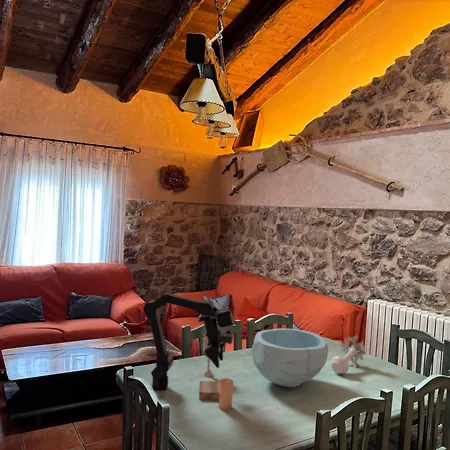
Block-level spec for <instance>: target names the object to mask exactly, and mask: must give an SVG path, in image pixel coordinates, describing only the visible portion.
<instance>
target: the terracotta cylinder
mask: <svg viewBox="0 0 450 450" xmlns="http://www.w3.org/2000/svg"><path fill="white" fill-rule="evenodd" d="M219 382H220V391H219V400H218V409H219V410H222V411H225V412H226V411H231V410H232V409H233V395H234V380H233V379H230V378H221V379H220V380H219Z"/></svg>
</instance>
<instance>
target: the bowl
mask: <svg viewBox="0 0 450 450" xmlns="http://www.w3.org/2000/svg"><path fill="white" fill-rule="evenodd" d="M251 347H252V348H251V356H252V361H253V363H254V365H255V367H256V369H257V370H258V372H259V373H260V375H262V376H263V377H264V378H265V379H266V380H267V381H269V382H271V383H273V384H276V385H279V386H281V387H286V388H296V387H297V386H300V385H301V384H302V383H305V382H308V381H311V380H312V379H313V378H315V377H316V376H317V375H319V374H320V372H321V370H322V369H323V367H325V365H326V363H327V360H328V354H329V346H328V344H327V342H326V340H325V338H323V336H321V335H320V334H318V333H315V332H311V331H308V330H302V329H296V328H285V327H284V328H274V329H263V330H261V331H258V332H257V333H256V334H255V337H254V339H253V344H252V345H251Z"/></svg>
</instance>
